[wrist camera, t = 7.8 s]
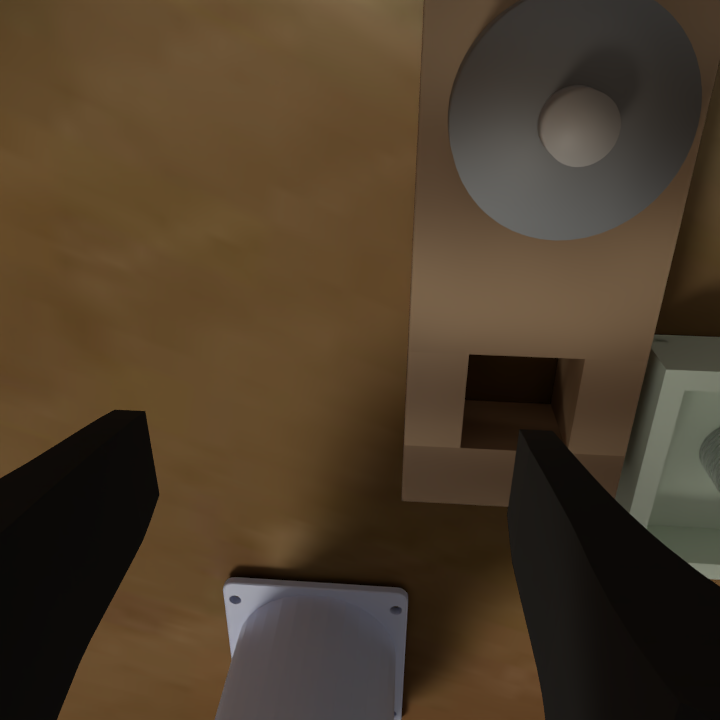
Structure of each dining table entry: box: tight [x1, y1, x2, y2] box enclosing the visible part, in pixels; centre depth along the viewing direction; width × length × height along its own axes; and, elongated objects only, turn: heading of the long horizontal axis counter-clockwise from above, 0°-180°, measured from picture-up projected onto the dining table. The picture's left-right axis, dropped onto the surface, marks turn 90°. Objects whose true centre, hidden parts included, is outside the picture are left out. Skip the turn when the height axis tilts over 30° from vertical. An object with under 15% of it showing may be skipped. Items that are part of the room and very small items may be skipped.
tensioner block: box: [402, 0, 720, 507], centre depth 19 cm, size 16×7×5 cm, turn 0°
